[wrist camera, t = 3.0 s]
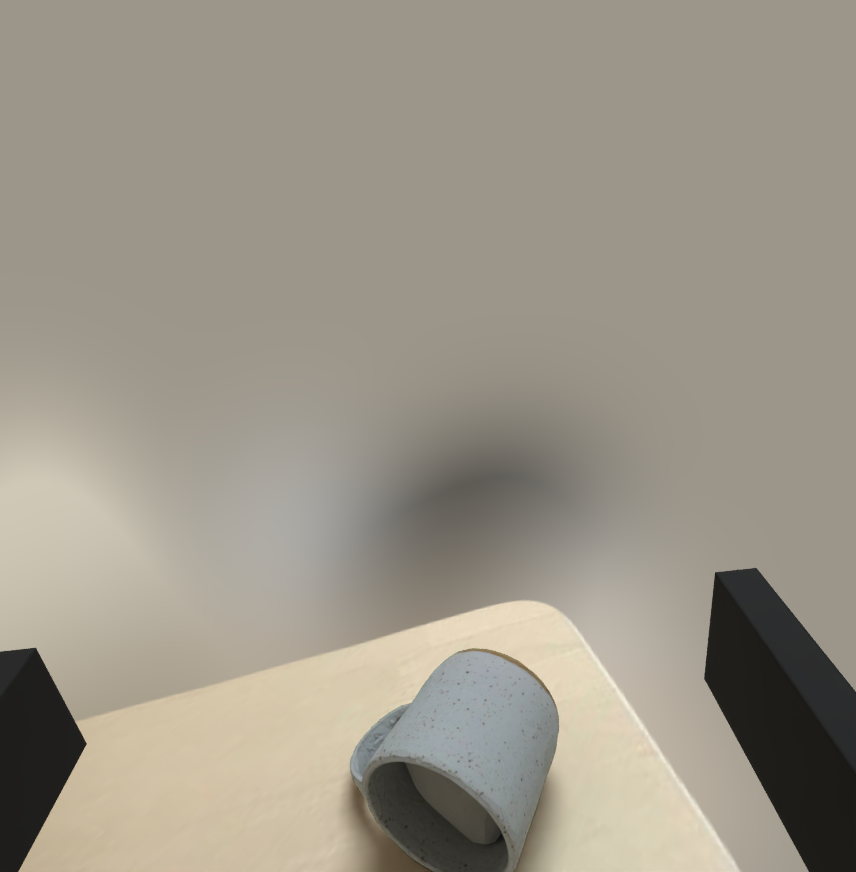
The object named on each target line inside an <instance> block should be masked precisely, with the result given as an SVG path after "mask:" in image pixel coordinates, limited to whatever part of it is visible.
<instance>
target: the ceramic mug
mask: <svg viewBox="0 0 856 872" xmlns="http://www.w3.org/2000/svg"><path fill="white" fill-rule="evenodd" d="M558 732H559V716H558V712H557V708H556V705H555V702H554V700H553V698H552V696H551V694H550V692H549V690H548V689H547V688H546V686H545V685H544V683H543V682H542V681H541V680H540V679H539V678H538V677H537V676H536V675H535V674H534V673H533V672H532V671H531V670H529V669H528V668H527V667H526V666H524V665H523V664H522V663H520V662H519V661H518V660H516V659H514V658H512V657H510V656H508V655H505V654H502V653H499V652H496V651H492V650H487V649H473V648H472V649H467V650H463V651H459V652H457V653H455V654H454V655H452V656H450V657H449V658H448V659H446V660H445V661H444V662H443V663H442V664H441V665H440V666H439V667H438V668H437V669H435V671H434V672H433V673H432V674H431V676H430V677H429V678H428V680H427V681H426V682H425V683H424V685H423V686H422V688H421V690H420V691H419V693H418V694H417V696H416V698H415V699H414V700H413V702H412V703H409V704H406V705H402V706H400V707H398V708H397V709H395V710H393V711H391V712H390V713H388V714H387V715H385V716H384V717H383V718H381V719H380V720H379V721H378V722H377V723H376V724H375V725H373V726H372V727H371V729H370V730H369V731H368V732H367V733H366V734H365V735H364V737H363V738H362V739H361V740H360V742H359V743H358V745H357V746H356V748H355V750H354V752H353V755H352V757H351V761H350V770H351V774H352V778H353V780H354V782H355V784H356V785H357V787H358V789H359V790H360V792H361V794H362V795H363V797H364V798H365V800H366V802H367V804H368V806H369V808H370V811H371V812H372V814H373V816H374V818H375V820H376V821H377V822H378V824H379V825H380V826H381V828H382V829H383V830H384V831H385V832H386V833H387V835H388V836H389V837H390V838H391V839H392V841H394V842H395V843H396V844H397V845H398V846H399V847H400V848H401V849H402V850H403V851H404V852H405V853H406V854H407V855H409V856H410V857H411V858H412V859H414V860H415V861H417V862H418V863H420V864H421V865H423V866H424V867H426V868H428V869H430V870H431V871H433V872H514V871H515V869H516V867H517V864H518V861H519V858H520V855H521V852H522V849H523V846H524V842H525V839H526V836H527V833H528V831H529V828H530V825H531V822H532V819H533V816H534V813H535V811H536V808H537V804H538V801H539V798H540V795H541V791H542V788H543V785H544V782H545V779H546V776H547V774H548V771H549V769H550V766H551V764H552V761H553V757H554V754H555V750H556V745H557V737H558Z"/></svg>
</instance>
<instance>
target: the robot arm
mask: <svg viewBox="0 0 856 872" xmlns="http://www.w3.org/2000/svg"><path fill="white" fill-rule="evenodd" d="M704 679H705V681H706V683H707V684H708V686H709V688H710V690H711V692H712V693H713V695H714V697H715V699H716V701H717V703H718V704H719V707H720V708H721V710H722V712H723V714H724V716H725V718H726V719H727V721H728V723H729V725H730V727H731V729H732V731H733V732H734V734H735V736H736V738H737V740H738V742H739V743H740V745H741V747H742V749H743V751H744V753H745V755H746V756H747V758H748V760H749V762H750V764H751V765H752V767H753V769H754V771H755V773H756V775H757V776H758V779H759V780H760V782H761V784H762V786H763V788H764V790H765V791H766V793H767V795H768V797H769V799H770V800H771V802H772V804H773V806H774V808H775V810H776V812H777V813H778V815H779V817H780V819H781V821H782V823H783V825H784V826H785V828H786V830H787V832H788V834H789V836H790V838H791V839H792V841H793V843H794V845H795V847H796V849H797V850H798V852H799V854H800V856H801V858H802V860H803V862H804V863H805V865H806V867H807V869H808V871H809V872H856V692H855V690H854V689H853V688H852V687H851V685H850V684H849V683H848V682H847V680H846V679H845V678H844V677H843V675H842V674H841V673H840V672H839V670H838V669H837V668H836V667H835V665H834V664H833V663H832V662H831V661H830V659H829V658H828V657H827V655H826V654H825V653H824V652H823V651H822V649H821V648H820V647H819V646H818V644H817V643H816V642H815V641H814V640H813V638H812V637H811V636H810V634H809V633H808V632H807V631H806V629H805V628H804V627H803V626H802V624H801V623H800V622H799V621H798V619H797V618H796V617H795V616H794V614H793V613H792V612H791V611H790V609H789V608H788V607H787V606H786V604H785V603H784V602H783V601H782V599H781V598H780V597H779V596H778V594H777V593H776V592H775V591H774V590H773V588H772V587H771V586H770V584H769V583H768V582H767V581H766V579H765V578H764V577H763V576H762V575H761V573H760V572H759V571H758V570H757V568H752V569H743V570H734V571H725V572H716V573H715V579H714V589H713V599H712V609H711V618H710V628H709V638H708V647H707V657H706V667H705V677H704ZM86 744H87V743H86V742H85V740H84V738H83V736H82V734H81V732H80V730H79V728H78V726H77V725H76V723H75V721H74V719H73V717H72V715H71V713H70V711H69V710H68V708H67V706H66V704H65V702H64V700H63V698H62V696H61V695H60V693H59V691H58V689H57V687H56V685H55V683H54V681H53V680H52V677H51V676H50V674H49V672H48V670H47V668H46V666H45V664H44V663H43V661H42V659H41V657H40V655H39V653H38V651H37V649H36V648H30V649H21V650H12V651H3V652H0V872H18V871H19V869H20V867H21V865H22V864H23V862H24V860H25V858H26V856H27V854H28V852H29V851H30V849H31V847H32V845H33V843H34V841H35V839H36V837H37V836H38V834H39V832H40V830H41V828H42V826H43V824H44V823H45V821H46V819H47V817H48V815H49V813H50V811H51V810H52V808H53V806H54V804H55V802H56V800H57V798H58V796H59V795H60V793H61V791H62V789H63V787H64V785H65V783H66V782H67V780H68V778H69V776H70V774H71V772H72V770H73V768H74V767H75V765H76V763H77V761H78V759H79V757H80V755H81V754H82V752H83V750H84V748H85V746H86Z"/></svg>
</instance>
